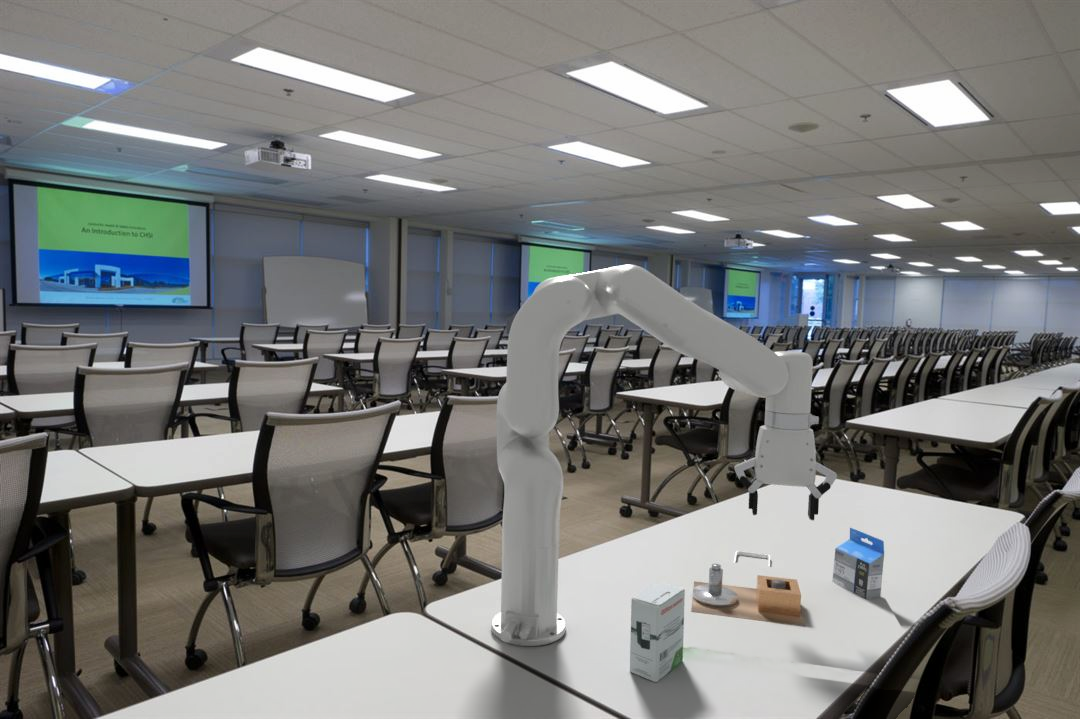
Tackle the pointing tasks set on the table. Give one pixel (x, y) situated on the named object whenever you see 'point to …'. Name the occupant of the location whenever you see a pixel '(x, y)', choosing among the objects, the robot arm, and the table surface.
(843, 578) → the label tape box
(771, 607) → the wooden square washer
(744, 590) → the walnut board
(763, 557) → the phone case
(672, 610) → the ink box
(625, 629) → the table surface
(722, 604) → the steel hub
